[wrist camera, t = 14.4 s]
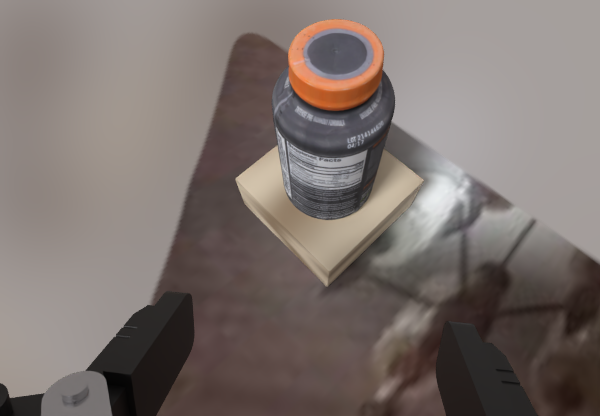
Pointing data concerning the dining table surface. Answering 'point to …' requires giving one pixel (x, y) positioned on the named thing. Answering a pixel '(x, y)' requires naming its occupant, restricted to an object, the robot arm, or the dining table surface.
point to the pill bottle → (332, 117)
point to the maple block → (328, 233)
